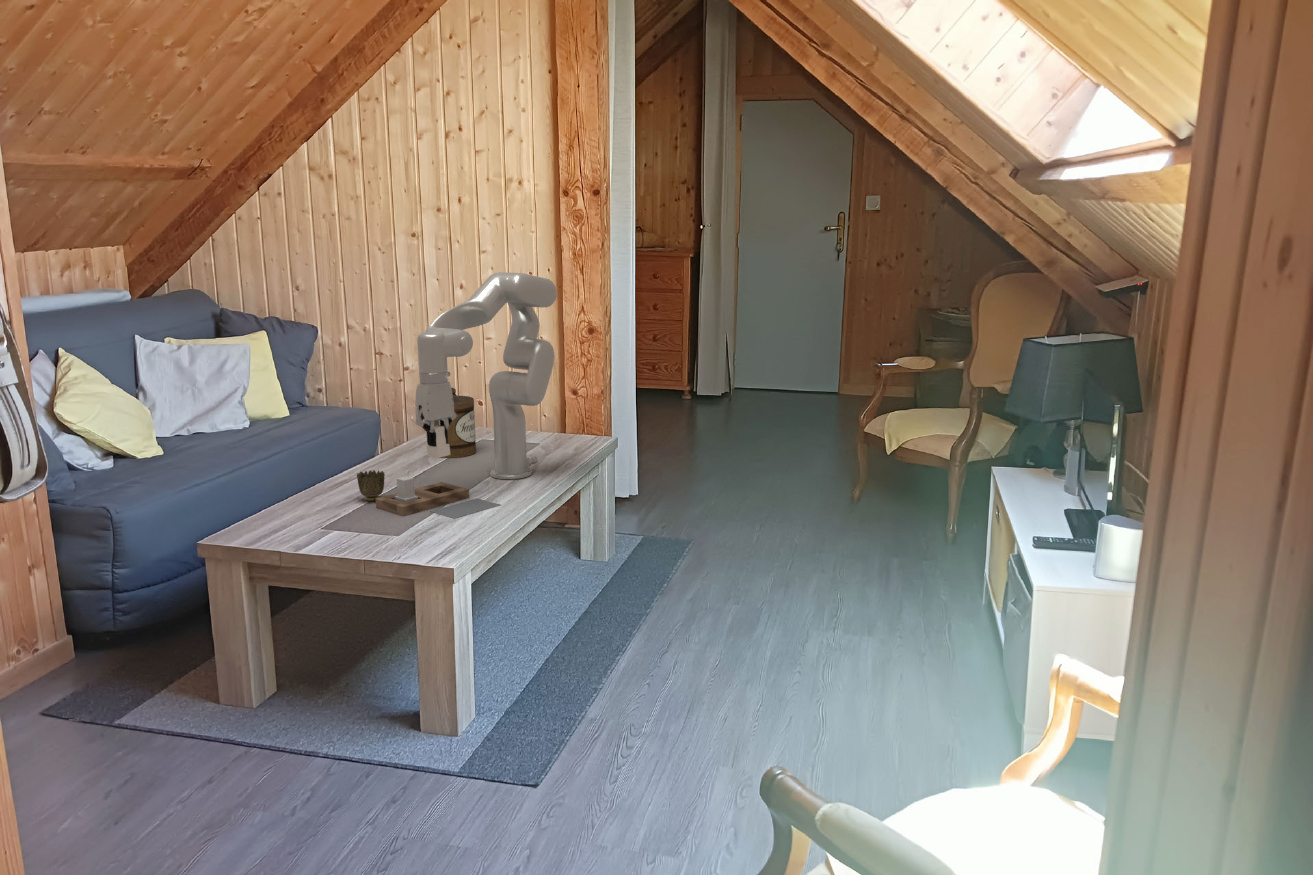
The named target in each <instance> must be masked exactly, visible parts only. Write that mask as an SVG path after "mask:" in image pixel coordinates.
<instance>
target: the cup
mask: <svg viewBox="0 0 1313 875" xmlns="http://www.w3.org/2000/svg"><path fill="white" fill-rule="evenodd" d="M385 475H386V474H385V472H384V470H381V471H380V470H379V469H378V471H375V469H374V470H369V471H368V472H367V470H365V471H364V472H363V471H359V472H357V473H356V478H357V485H358V490H359V492H360V494H361V495H362V496H364V497H365V501H366V502H376V498H380V495H382V494H383V492H384V487H385V477H386V476H385Z"/></svg>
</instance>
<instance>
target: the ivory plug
mask: <svg viewBox="0 0 1313 875" xmlns="http://www.w3.org/2000/svg"><path fill="white" fill-rule="evenodd" d="M444 431H445V429H444V426H434V432H436V446H435V447H433V446H429V445H428V444H427V445H426V452H427V457H428V458H441V457H444V456H448V455H450V446H449V444H446V438H445V432H444Z"/></svg>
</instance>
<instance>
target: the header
mask: <svg viewBox="0 0 1313 875" xmlns="http://www.w3.org/2000/svg"><path fill="white" fill-rule="evenodd" d="M414 490H415V496H418V499H417V500H413V501H410V502H406V503H404V502H401V501H398V500H395V496H398V494H397V492H396V493H393V494H389V495H385V496H382V497H380V496H379V498H376V501H375V508H376V509H379V510H382V511H385V512H389V513H392V514H395V515H398V516H401V517H405V516H410V515H414V514H417V513H420V512H425V511H427V510H432V509H434V508H436V509H437V508H438V507H441V506H443V507H444V506H446V505H451V504H453V503H458V502H460V501H466V500H467V499H470V489H469V488H466V487H461V486H457V485H454V484H450V483H446V482H442V481H441V482H436V483H432V484H429V485H424V486H421V487H417V488H414Z"/></svg>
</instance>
